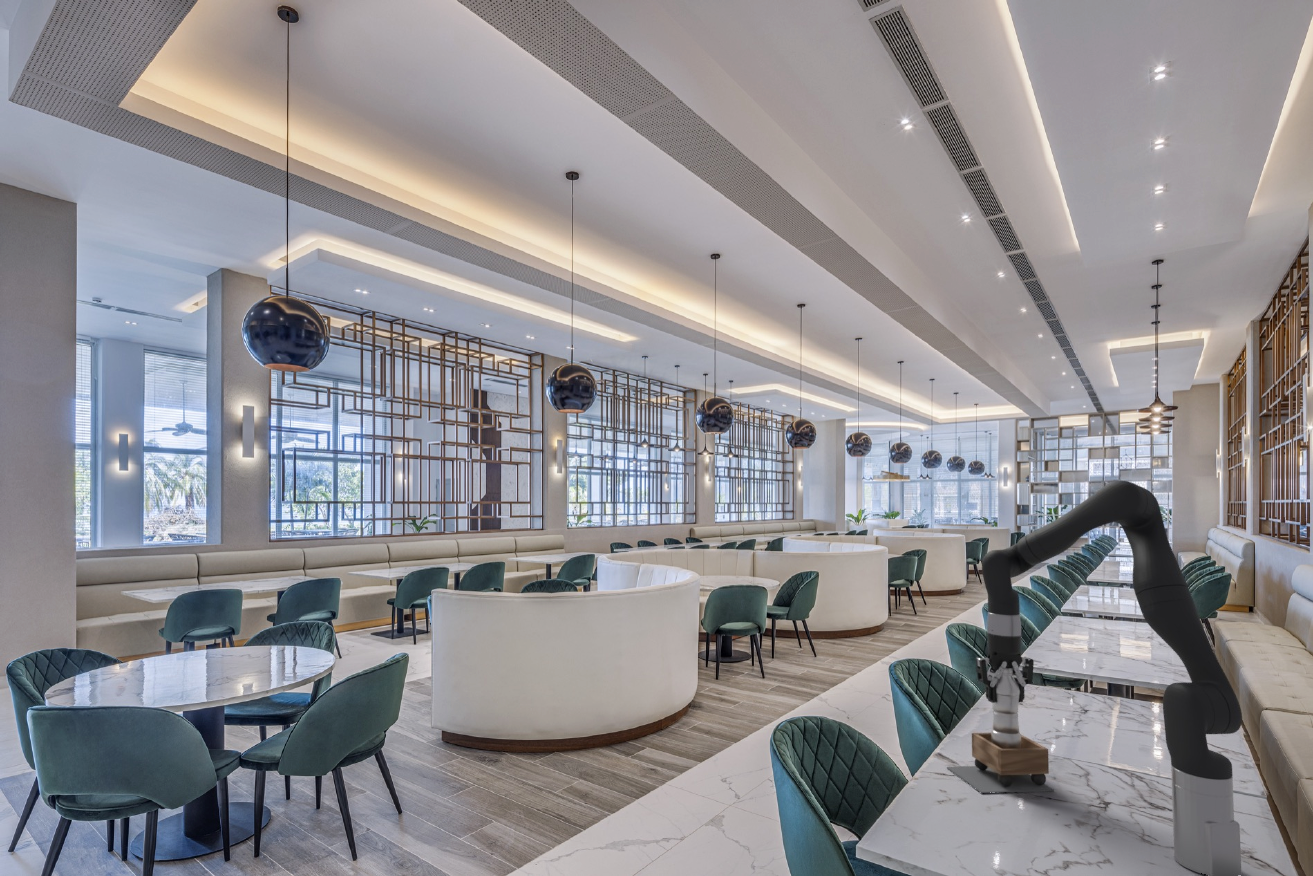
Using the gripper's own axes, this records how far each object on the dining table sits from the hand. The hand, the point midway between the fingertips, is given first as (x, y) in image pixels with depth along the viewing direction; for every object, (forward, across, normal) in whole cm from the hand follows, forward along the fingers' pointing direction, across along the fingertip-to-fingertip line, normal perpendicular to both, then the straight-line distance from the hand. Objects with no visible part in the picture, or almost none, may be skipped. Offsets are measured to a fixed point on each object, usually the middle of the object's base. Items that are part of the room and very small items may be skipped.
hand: (1005, 701), depth 173 cm
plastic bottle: (+12, 0, 0) cm, 12 cm away
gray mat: (+18, -2, 0) cm, 19 cm away
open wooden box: (+18, +1, 0) cm, 18 cm away
